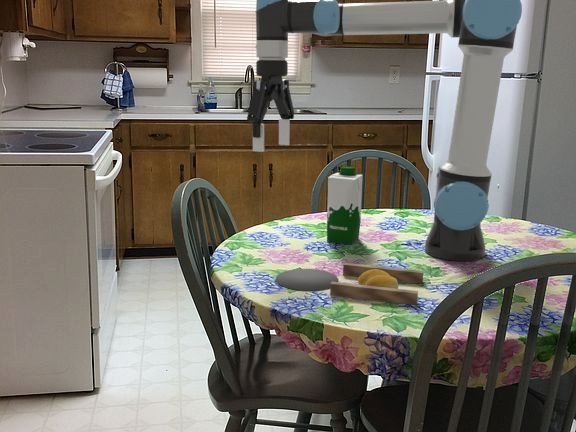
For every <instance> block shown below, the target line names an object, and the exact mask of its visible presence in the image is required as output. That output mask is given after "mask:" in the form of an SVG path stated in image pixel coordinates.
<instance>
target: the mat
mask: <svg viewBox="0 0 576 432" xmlns="http://www.w3.org/2000/svg"><path fill="white" fill-rule="evenodd" d="M275 281H276V283H277V284H278V285H279V286H281V287H283V288H286V289H290V290H295V291H301V292H302V291H303V292H305V291H306V292H318V291H324V290H329V289H330V284H331V282H332V281H333V282H339V278H338V276H337V275H336V274H333V273H332V272H329V271H325V270H321V269H315V268H295V269H293V268H292V269H289V270H285V271H282V272H280V273H278V274H277V275H276V277H275Z"/></svg>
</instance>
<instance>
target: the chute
mask: <svg viewBox="0 0 576 432" xmlns="http://www.w3.org/2000/svg"><path fill="white" fill-rule="evenodd" d="M342 265H343V266H342V267H343V268H342V275H343V276H350V277H357V278H359V277H360V276H361V275H362V274H363V273H364V272H366V271H368V270H371V269H379V270H383V271H385V272H386V273H388V274H389V275H390V276H392V277H394V278H396V279H397V281H398V282H402V283H403V282H404V283H414V284H419V285H420V284H423V282H424V281H423V280H424V272H425V271H424V270H417V269H408V268H407V269H406V268H399V267H389V266H380V265H379V266H378V265H369V264H359V263H351V262H350V263H349V262H344V263H343V264H342ZM329 289H330V290H329V295H330V296H334V297H335V296H337V297H344V298H345V297H346V298H354V299H363V300H368V301H369V300H370V301H378V302H385V303H386V302H387V303H393V304H395V303H396V304H404V305H410V304H411V305H412V306H417V305H418V298H419V297H418V296H419V291H418V290H413V289H412V290H410V289H403V288H402V289H401V288H398V289H395V288H386V287H377V286H368V285H359V284H358V283H357V284H356V283H350V282H340V281H338V282H333V281H332V282H331V284H330V288H329ZM411 305H410V306H411Z"/></svg>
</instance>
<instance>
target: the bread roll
mask: <svg viewBox="0 0 576 432" xmlns="http://www.w3.org/2000/svg"><path fill="white" fill-rule="evenodd" d="M357 278H358V279H357V284H359V285H368V286H377V287H386V288H395V289H399V281H397V279H396V278H394V277H392V276H390V275H389V274H388V273H386V272H385V271H383V270H379V269H371V270H368V271H366V272H364V273H363V274H362V275H361V276H360V277H357Z"/></svg>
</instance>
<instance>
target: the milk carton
mask: <svg viewBox="0 0 576 432" xmlns="http://www.w3.org/2000/svg"><path fill="white" fill-rule="evenodd" d="M362 194H363V174H358V173H356V167H355V166H354V165H341V166H340V170H339V172H336V173H333V174H330V176H328V177H327V209H326V210H327V212H326V242H328V243H338V244H343V245H344V244H345V245H352V244H354V243H355V242H356V241H357V240H358V239H359V236H360V230H361V221H362V220H361V219H362V197H363V195H362Z"/></svg>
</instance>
